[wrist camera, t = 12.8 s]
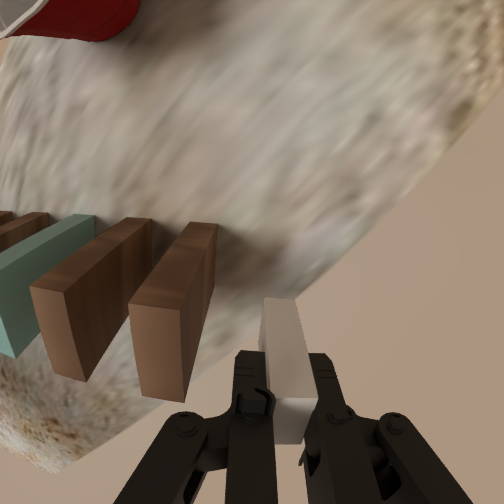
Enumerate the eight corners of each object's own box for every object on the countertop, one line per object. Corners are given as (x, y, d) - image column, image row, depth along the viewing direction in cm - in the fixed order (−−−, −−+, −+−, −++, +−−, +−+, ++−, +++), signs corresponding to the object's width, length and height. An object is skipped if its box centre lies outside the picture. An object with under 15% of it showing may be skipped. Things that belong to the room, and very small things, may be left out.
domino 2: (94, 215, 21) (-10, 276, 10) (98, 273, 23) (15, 359, 12) (74, 214, 21) (-31, 271, 10) (79, 270, 23) (-6, 350, 12)
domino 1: (38, 264, 23) (-46, 330, 12) (32, 212, 21) (-67, 261, 10) (53, 266, 23) (-32, 337, 12) (47, 212, 21) (-55, 264, 10)
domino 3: (129, 277, 23) (54, 373, 12) (127, 217, 22) (29, 285, 10) (152, 280, 23) (86, 382, 12) (151, 218, 22) (63, 292, 10)
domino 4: (188, 284, 23) (142, 395, 12) (190, 221, 22) (127, 303, 10) (213, 286, 23) (184, 402, 12) (217, 223, 22) (179, 310, 10)
